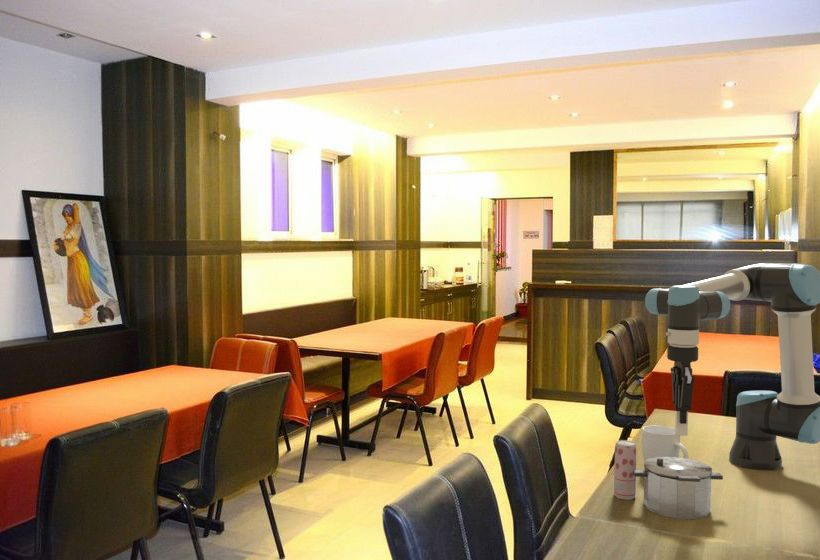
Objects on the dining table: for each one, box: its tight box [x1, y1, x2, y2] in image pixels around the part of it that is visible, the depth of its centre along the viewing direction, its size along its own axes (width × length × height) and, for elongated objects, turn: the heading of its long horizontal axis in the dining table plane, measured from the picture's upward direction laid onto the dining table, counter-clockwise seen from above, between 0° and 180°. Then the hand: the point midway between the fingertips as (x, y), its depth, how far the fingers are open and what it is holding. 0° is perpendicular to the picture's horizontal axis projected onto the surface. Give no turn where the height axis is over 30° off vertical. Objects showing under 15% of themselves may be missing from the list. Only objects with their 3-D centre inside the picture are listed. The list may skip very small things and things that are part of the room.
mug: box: [641, 424, 689, 462], centre depth 213 cm, size 15×11×13 cm
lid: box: [643, 457, 713, 482], centre depth 184 cm, size 17×20×3 cm
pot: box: [633, 467, 724, 520], centre depth 185 cm, size 22×16×10 cm
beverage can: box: [613, 439, 637, 501], centre depth 193 cm, size 6×6×15 cm
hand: (681, 434), depth 182 cm, fingers closed
